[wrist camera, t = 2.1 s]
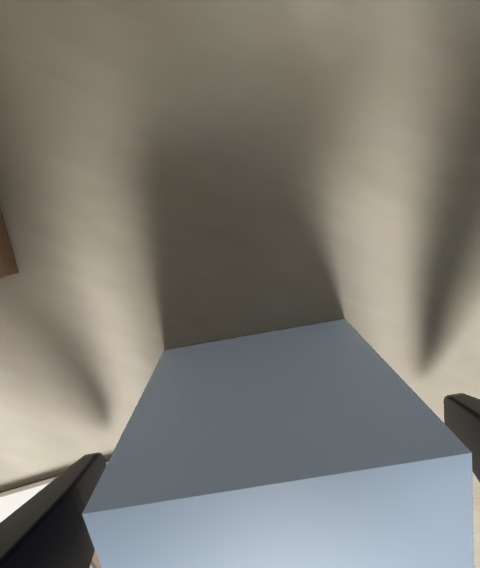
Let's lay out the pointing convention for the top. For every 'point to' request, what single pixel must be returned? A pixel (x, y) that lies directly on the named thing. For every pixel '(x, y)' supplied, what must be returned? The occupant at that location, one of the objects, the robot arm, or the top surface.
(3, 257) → the base brick
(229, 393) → the blue brick
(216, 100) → the top surface
